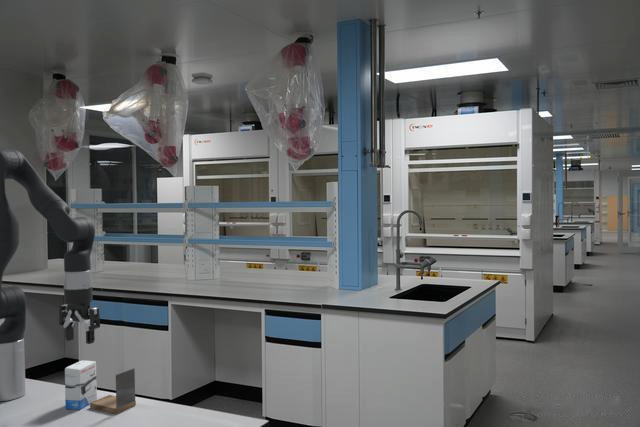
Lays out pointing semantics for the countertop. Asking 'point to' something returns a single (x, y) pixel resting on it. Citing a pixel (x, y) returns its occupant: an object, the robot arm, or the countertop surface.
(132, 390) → the wooden base bookend
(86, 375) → the ink box
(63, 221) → the robot arm
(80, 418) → the countertop surface
